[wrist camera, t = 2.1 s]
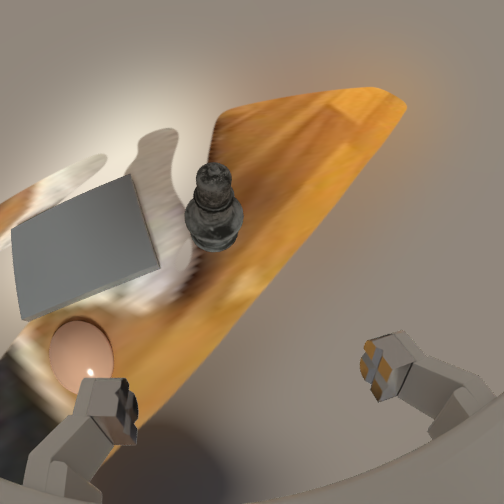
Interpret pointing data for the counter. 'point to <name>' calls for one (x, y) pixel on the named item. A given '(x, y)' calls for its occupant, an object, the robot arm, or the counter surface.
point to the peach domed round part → (80, 354)
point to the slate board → (81, 248)
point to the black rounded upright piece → (214, 209)
